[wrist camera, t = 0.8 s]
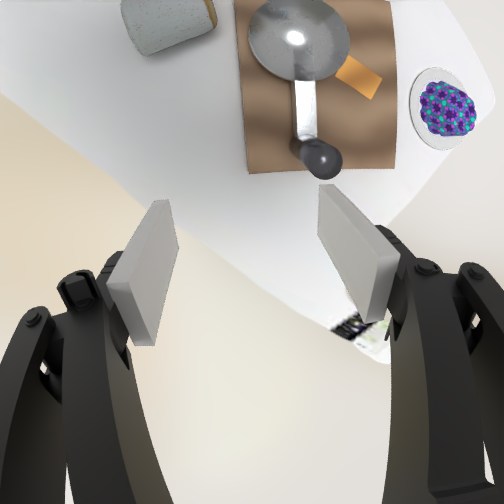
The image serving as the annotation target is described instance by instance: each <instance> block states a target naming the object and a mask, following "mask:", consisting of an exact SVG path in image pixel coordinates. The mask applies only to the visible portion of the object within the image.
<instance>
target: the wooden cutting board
mask: <svg viewBox="0 0 504 504" xmlns="http://www.w3.org/2000/svg"><path fill="white" fill-rule="evenodd" d="M267 1H269V0H234V6H235V18H236V30H237V42H238V54H239V66H240V78H241V90H242V102H243V115H244V127H245V139H246V152H247V164H248V172H249V174H257V173H269V172H284V171H301V170H308V169H307V168H306V167H305V166H304V165H303V164H302V163H301V162H300V161H299V160H298V159H297V158H296V157H295V156H294V155H293V154H292V152H291V150H290V146H289V144H290V140H291V138H292V137H293V136H294V131H293V109H292V91H291V81H287V80H283V79H281V78H278V77H276V76H274V75H272V74H271V73H269V72H268V71H266V70H265V69H264V68H263V67H262V66H261V65H260V64H259V63H258V62H257V60H256V59H255V57H254V56H253V54H252V52H251V49H250V46H249V41H248V33H249V27H250V24H251V21H252V18H253V16H254V14H255V13H256V11H257V10H258V9H259V8H260V7H261V6H262V5H263V4H264V3H265V2H267ZM322 1H323V2H325V3H327V4H328V5H330V6H331V7H332V8H333V9H334V10H335V11H336V12H337V13H338V14H339V15H340V16H341V17H342V19H343V21H344V22H345V24H346V26H347V29H348V32H349V37H350V49H349V53H348V56H347V59H346V61H345V62H344V64H343V65H342V66H341V67H340V69H339V70H337V71H336V72H335V73H334V74H332V75H330V76H329V77H326V78H324V79H321V80H317V81H315V89H316V113H317V138H319V139H321V140H323V141H324V142H326V143H328V144H330V145H332V146H334V147H335V148H337V149H338V150H339V151H340V153H341V155H342V158H343V165H342V168H341V169H394V168H395V154H396V136H397V68H396V51H395V39H394V29H393V20H392V12H391V5H390V2H389V1H385V0H322Z"/></svg>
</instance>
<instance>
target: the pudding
mask: <svg viewBox="0 0 504 504" xmlns="http://www.w3.org/2000/svg"><path fill="white" fill-rule="evenodd" d="M432 80H442V81H445V82H446V83H445V82H442V81H440V82H439V83H435V82H430V81H432ZM428 82H430V83H429V84H428V85H427V88H426V91H424V92H422V94H421V96H420V93H421V91H422V89H423V87H424V86H425V85H426V84H427V83H428ZM447 83H448V84H447ZM419 97H420V103H421V105H422V109H421V111H420V112H421V117H420V113H419ZM474 107H475V106H474V103H473V101H472V100H471V98H469V97H468V95H467V93H466V91H465V89H464V87H463V85H462V84H461V82H460V81H459V80H458V78H457V77H456V76H455V75H453V74H452V73H451V72H449V71H447V70H445V69H442V68H430V69H427V70H425V71H424V72H423V73H421V74H420V75H419V77H418V78H417V79H416V81H415V83H414V85H413V88H412V91H411V97H410V109H411V116H412V120H413V123H414V126H415V128H416V130H417V132H418V134H419V135H420V137H421V138H422V139H423V140H424V141H425V142H426V143H427V144H428V145H430V146H431V147H433V148H435V149H439V150H448V149H451V148H453V147H455V146H456V145H458V144H459V143H460V142H461V141H462V139H463V138H464V136H465V135H466V134H468V132H469V131H472V129H473V128H474V125H475V124H474V121H475V120H476V111H475V110H474ZM421 118H422V120H423V121H424V122H426V123H427V125H428V129H429V131H430V132H431V133H433V134H440V135H441V136H447V137H437V136H435V135H433V134H431V133H430V132H429V131H428V130H427V129H426V127H425V126H424V124H423V122H422V120H421Z"/></svg>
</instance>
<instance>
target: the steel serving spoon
mask: <svg viewBox="0 0 504 504" xmlns="http://www.w3.org/2000/svg"><path fill="white" fill-rule="evenodd" d="M248 41H249V46H250V49H251V52H252V54H253V56H254V57H255V59H256V60H257V62H258V63H259V64H260V65H261V66H262V67H263V68H264V69H265V70H266V71H268V72H269V73H271V74H272V75H274V76H276V77H278V78H281V79H283V80H287V81H291V91H292V109H293V131H294V136H293V137H292V138H291V140H290V144H289V146H290V150H291V152H292V154H293V155H294V156H295V157H296V158H297V159H298V160H299V161H300V162H301V163H302V164H303V165H304V166H305V167H306V168H307V169H308V170H309V171H310V172H311V173H312V174H313V175H314V176H315V177H317V178H319V179H323V180H328V179H331V178H333V177H335V176H336V175H337V174H338V173H339V172H340V171H341V168H342V165H343V158H342V155H341V153H340V151H339V150H338V149H337V148H335V147H334V146H332V145H330V144H328V143H326V142H324V141H323V140H321V139H319V138H317V113H316V89H315V81H317V80H321V79H324V78H326V77H329V76H330V75H332V74H334V73H335V72H336V71H337V70H339V69H340V67H341V66H342V65H343V64H344V62H345V61H346V59H347V56H348V53H349V49H350V37H349V32H348V29H347V26H346V24H345V22H344V21H343V19H342V17H341V16H340V15H339V14H338V13H337V12H336V11H335V10H334V9H333V8H332V7H331V6H330V5H328V4H327V3H325V2H323V1H322V0H269V1H267V2H265V3H264V4H263V5H262V6H261V7H260V8H259V9H258V10H257V11H256V13H255V14H254V16H253V18H252V21H251V24H250V27H249V33H248Z"/></svg>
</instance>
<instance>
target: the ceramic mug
mask: <svg viewBox="0 0 504 504" xmlns="http://www.w3.org/2000/svg"><path fill="white" fill-rule="evenodd" d="M121 13H122V17H123V20H124V23H125V25H126V28H127V31H128V33H129V36H130V38H131V40H132V41H133V43H134V44H135V46H136V48H137V49H138V51H139V52H140V53H141V54H142V55H144V56H149V55H152V54H154V53H156V52H158V51H160V50H163V49H165V48H168V47H170V46H173V45H175V44H177V43H180V42H182V41H185V40H187V39H190V38H193V37H196V36H199V35H202V34H204V33H206V32H208V31H210V30H212V29H214V28H215V27H216V25H217V16H216V12H215V9H214V5H213V2H212V0H122V1H121Z"/></svg>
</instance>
